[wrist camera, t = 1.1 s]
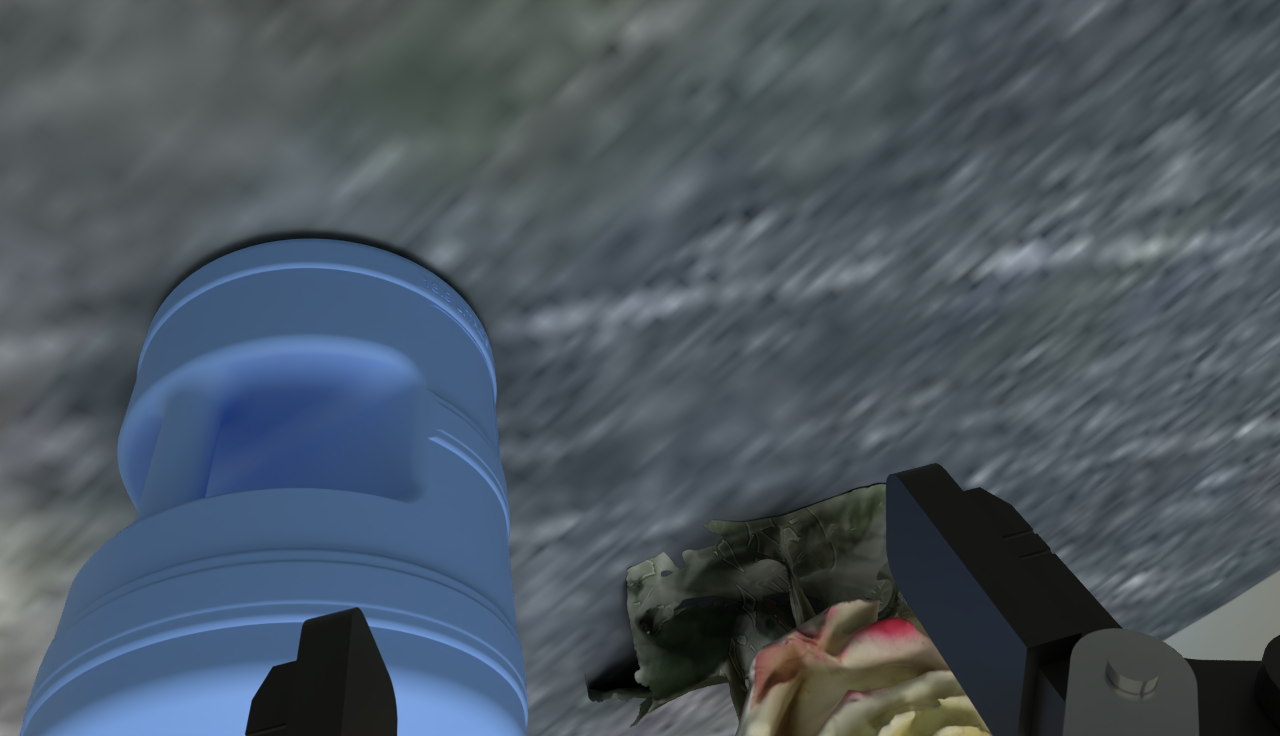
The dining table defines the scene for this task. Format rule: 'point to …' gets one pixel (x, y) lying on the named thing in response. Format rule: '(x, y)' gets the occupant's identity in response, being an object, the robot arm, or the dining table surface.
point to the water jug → (298, 504)
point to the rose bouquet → (795, 630)
